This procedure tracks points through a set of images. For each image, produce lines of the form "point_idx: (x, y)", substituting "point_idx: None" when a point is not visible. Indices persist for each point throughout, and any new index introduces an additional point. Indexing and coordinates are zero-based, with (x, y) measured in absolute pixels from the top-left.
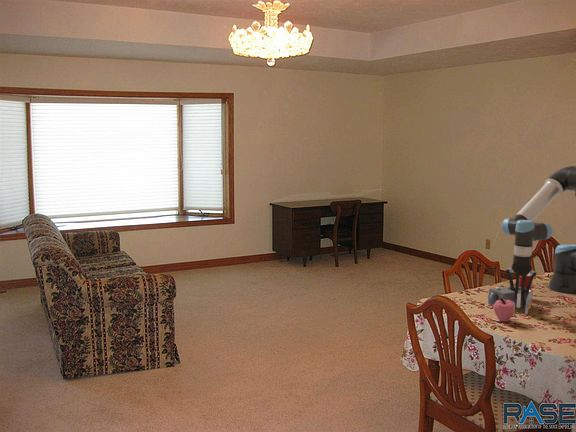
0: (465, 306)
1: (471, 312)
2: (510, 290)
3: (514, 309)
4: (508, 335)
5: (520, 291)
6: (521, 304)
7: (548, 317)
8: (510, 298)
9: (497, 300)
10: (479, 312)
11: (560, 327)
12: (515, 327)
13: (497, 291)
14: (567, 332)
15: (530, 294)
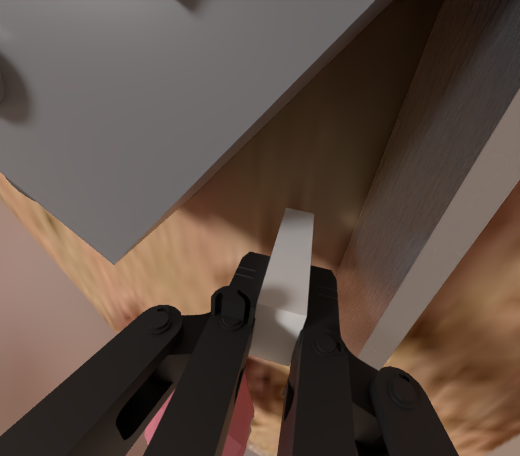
0: (24, 214)
1: (91, 292)
2: (136, 51)
3: (250, 423)
4: (248, 440)
5: (326, 38)
6: (350, 41)
7: (491, 305)
8: (208, 175)
9: (147, 440)
10: (116, 287)
11: (471, 415)
12: (268, 406)
13: (34, 198)
14: (471, 448)
15: (475, 234)
